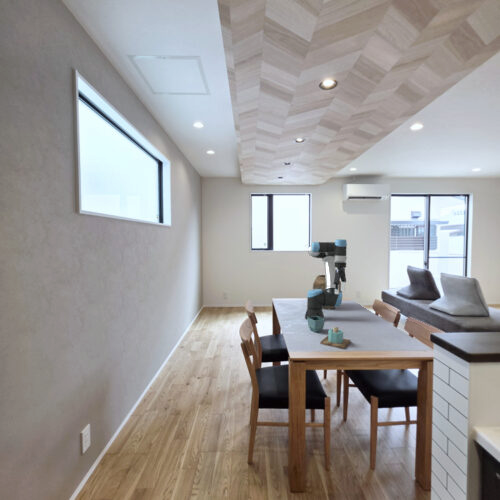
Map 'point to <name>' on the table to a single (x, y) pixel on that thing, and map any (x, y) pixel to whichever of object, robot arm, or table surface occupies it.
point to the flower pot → (316, 323)
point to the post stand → (338, 345)
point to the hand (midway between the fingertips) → (339, 292)
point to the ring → (335, 336)
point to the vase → (323, 287)
